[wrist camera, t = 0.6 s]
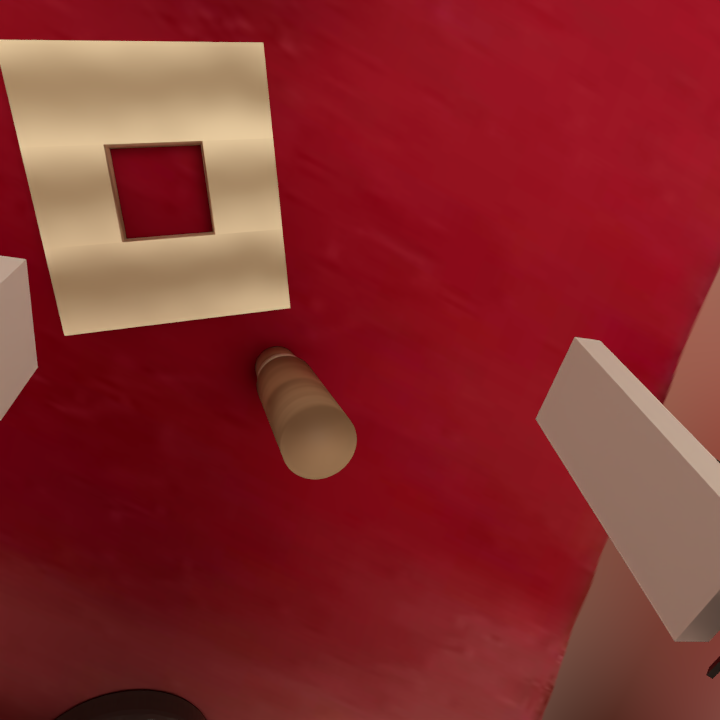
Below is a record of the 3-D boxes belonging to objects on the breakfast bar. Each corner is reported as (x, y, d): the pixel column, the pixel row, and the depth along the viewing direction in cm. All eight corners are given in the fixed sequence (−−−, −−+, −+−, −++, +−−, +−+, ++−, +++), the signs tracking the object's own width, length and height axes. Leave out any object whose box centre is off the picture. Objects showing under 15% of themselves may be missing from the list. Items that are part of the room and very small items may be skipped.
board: (282, 300, 40) (290, 307, 37) (73, 325, 36) (64, 335, 33) (256, 54, 35) (263, 42, 32) (10, 53, 31) (-6, 39, 28)
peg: (304, 387, 42) (358, 470, 29) (252, 395, 41) (285, 486, 28) (300, 337, 41) (354, 402, 28) (246, 345, 40) (277, 415, 27)
